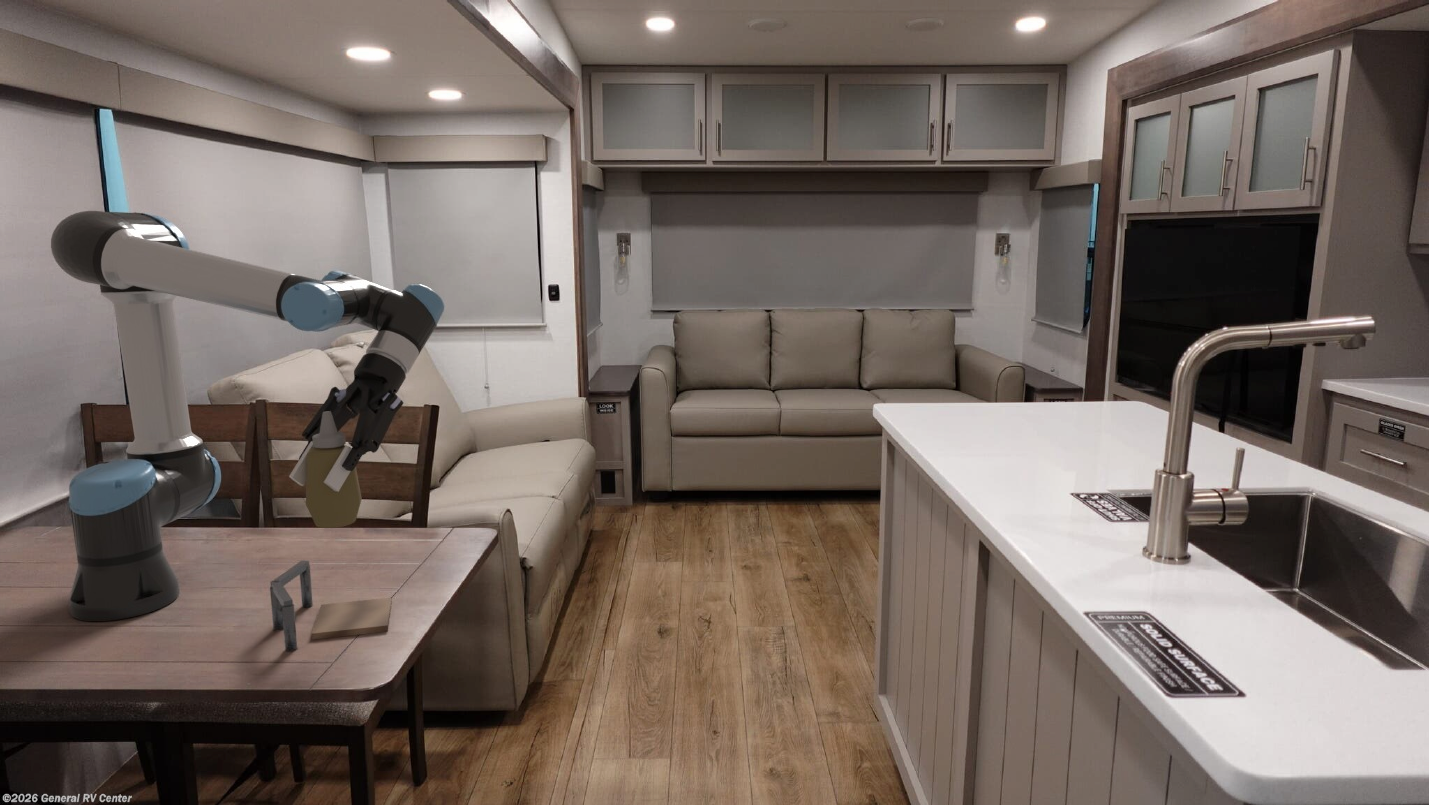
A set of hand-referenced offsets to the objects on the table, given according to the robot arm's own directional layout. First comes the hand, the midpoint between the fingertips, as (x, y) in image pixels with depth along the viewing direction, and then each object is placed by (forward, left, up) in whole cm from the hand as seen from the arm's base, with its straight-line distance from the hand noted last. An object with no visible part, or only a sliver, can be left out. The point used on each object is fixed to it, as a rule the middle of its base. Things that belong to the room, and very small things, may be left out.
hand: (313, 484), depth 128 cm
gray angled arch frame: (-6, +3, -24) cm, 25 cm away
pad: (+4, +3, -24) cm, 25 cm away
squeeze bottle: (+2, +3, -8) cm, 8 cm away
